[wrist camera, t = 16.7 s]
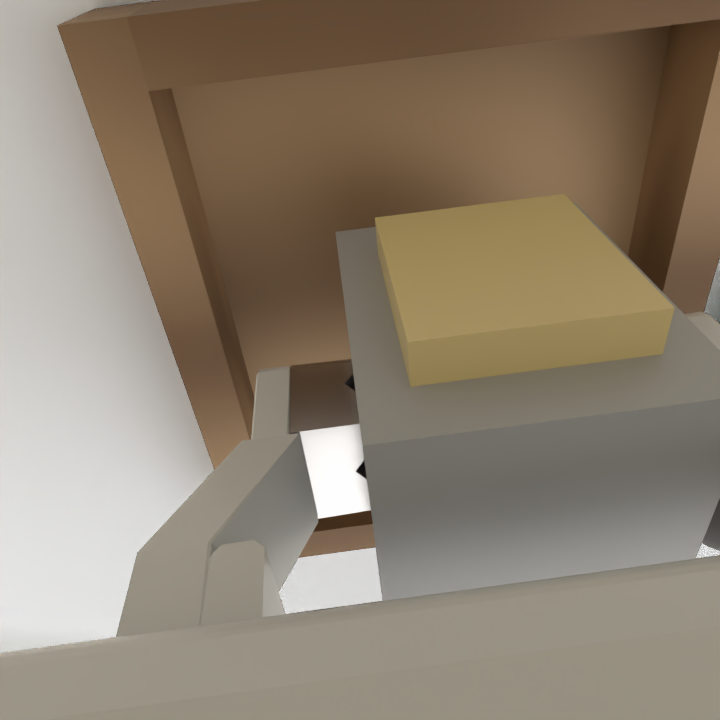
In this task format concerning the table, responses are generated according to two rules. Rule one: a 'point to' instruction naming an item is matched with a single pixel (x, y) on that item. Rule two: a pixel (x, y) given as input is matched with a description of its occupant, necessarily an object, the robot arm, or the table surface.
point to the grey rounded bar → (713, 530)
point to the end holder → (383, 155)
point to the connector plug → (523, 399)
